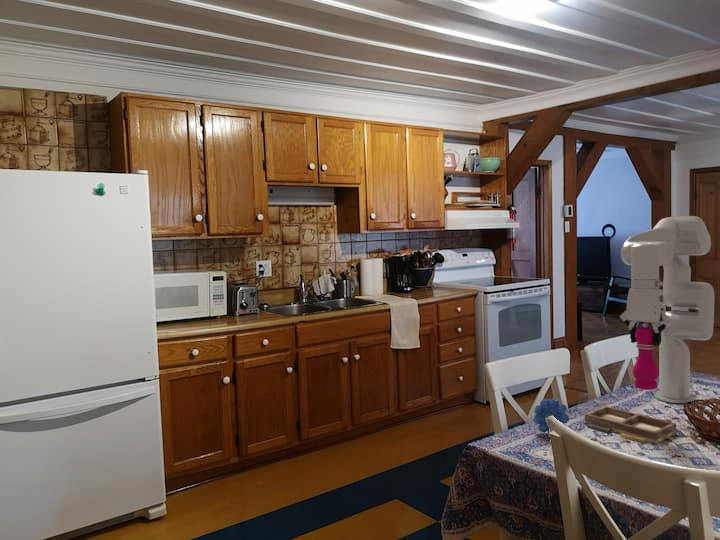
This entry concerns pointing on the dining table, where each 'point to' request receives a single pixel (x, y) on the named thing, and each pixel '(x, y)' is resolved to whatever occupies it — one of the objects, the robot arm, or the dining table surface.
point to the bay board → (630, 425)
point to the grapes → (549, 413)
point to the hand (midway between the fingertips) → (645, 343)
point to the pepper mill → (645, 359)
